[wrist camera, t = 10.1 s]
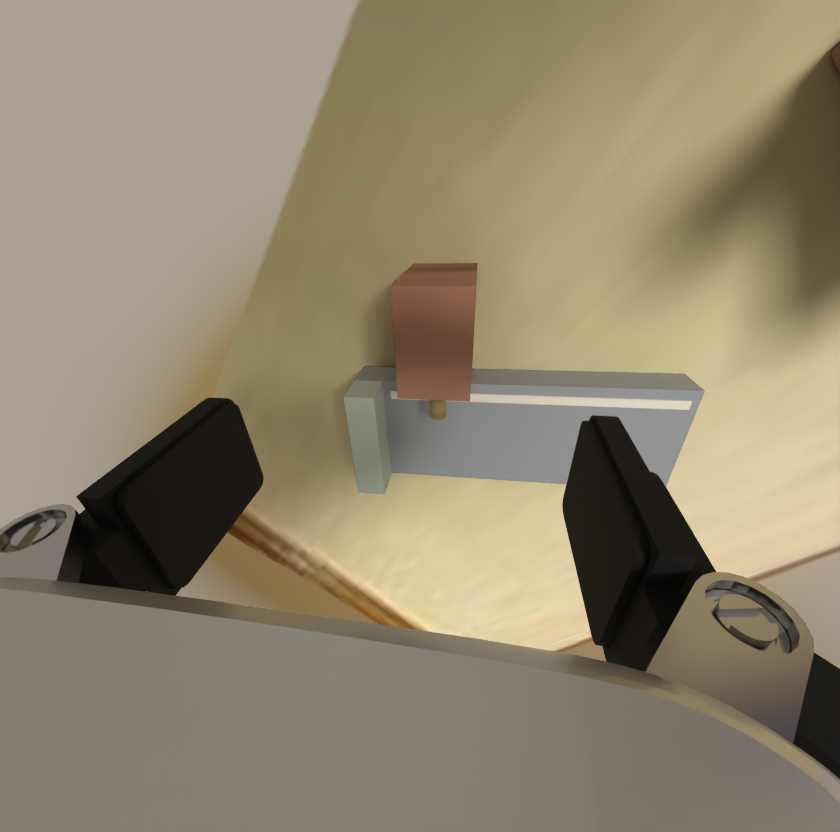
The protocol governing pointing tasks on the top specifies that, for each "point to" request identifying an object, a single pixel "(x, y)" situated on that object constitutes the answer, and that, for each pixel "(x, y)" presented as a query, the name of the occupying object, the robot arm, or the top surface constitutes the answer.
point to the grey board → (512, 424)
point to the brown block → (434, 333)
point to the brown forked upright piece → (836, 56)
